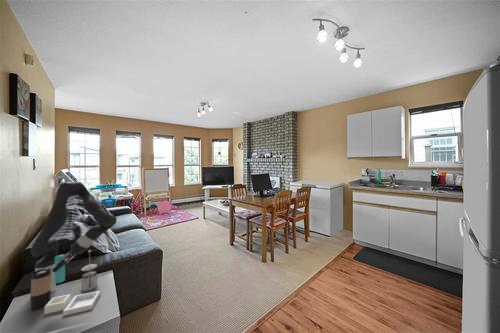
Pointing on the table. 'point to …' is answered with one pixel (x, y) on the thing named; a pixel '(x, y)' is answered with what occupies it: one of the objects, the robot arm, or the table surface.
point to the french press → (89, 276)
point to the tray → (81, 303)
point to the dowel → (61, 272)
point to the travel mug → (40, 288)
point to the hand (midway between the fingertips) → (55, 269)
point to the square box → (57, 304)
